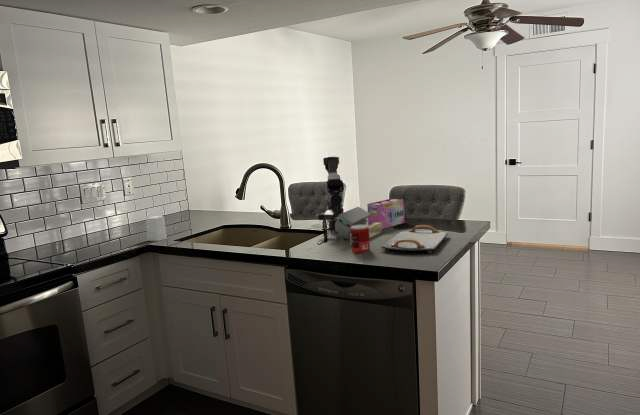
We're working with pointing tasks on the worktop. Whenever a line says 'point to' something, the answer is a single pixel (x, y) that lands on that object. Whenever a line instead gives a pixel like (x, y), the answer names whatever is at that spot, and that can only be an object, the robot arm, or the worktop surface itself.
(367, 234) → the canned food
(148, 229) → the supplement box
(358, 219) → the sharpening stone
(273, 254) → the worktop surface
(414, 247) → the serving board
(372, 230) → the maple stop board
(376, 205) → the gum box
